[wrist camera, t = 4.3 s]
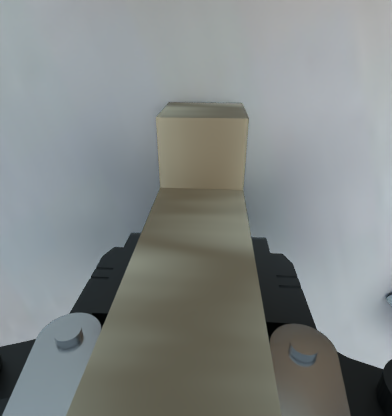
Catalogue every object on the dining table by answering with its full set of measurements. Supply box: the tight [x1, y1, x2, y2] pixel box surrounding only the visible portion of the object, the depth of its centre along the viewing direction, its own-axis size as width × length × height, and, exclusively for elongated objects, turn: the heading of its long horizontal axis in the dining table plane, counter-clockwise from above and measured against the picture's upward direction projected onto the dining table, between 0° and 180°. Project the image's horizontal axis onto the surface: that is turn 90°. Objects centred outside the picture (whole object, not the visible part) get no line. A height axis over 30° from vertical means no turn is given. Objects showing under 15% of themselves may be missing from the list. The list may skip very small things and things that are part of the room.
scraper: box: [66, 102, 282, 416], centre depth 10 cm, size 3×8×11 cm, turn 0°
